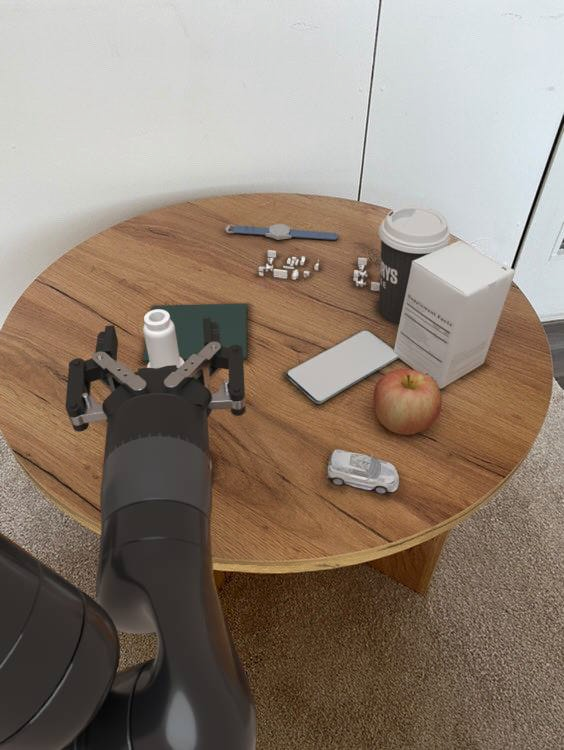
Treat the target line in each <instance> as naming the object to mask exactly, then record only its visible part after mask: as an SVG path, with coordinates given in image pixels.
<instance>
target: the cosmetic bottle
mask: <svg viewBox="0 0 564 750" xmlns="http://www.w3.org/2000/svg"><path fill="white" fill-rule="evenodd" d="M143 321H144V324H143V327H142V332H143V337H144V341H145V345H146V346H147V351H148V356H149V361H150V362H147V363H148V364H147V366H146V368H161V367H165V366H171V365H176V366H177V368H179V367H180V366H181V365H182V364H183V363H184V362H185V361H184V360H183V359H182V358H181V357H180V356H179V351H178V345H177V338H176V332H175V326H174V323H173V322H172V321H171V320H170V315H169V313H168V312H167V311H165V310H161V309H157V310H152V309H151V310H149V311H148V312H146V313H145V315H144V317H143ZM210 466H211V467H212V460H211V459H210Z"/></svg>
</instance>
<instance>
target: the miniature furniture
mask: <svg viewBox="0 0 564 750" xmlns="http://www.w3.org/2000/svg"><path fill="white" fill-rule="evenodd" d="M267 257H268V258H267V262H269V263H266V266H265V265H263V266H259V267H258V276H261V277H264V274H265V273H268V272H269V270H270V272H273V278H278V279H279V278H280V279H288V270H292V273H291V277H292V280H297V279H299V276H300V275H299V274H300V272H299V270H298V269H295V267H294V266H298V265H299V266H304V265H305V261H306V256H303V255H302V256H301V260H300V259H298V258H297V256H292V257H288V258H287V261H286V264H287V265H289V266H287V265H283V267H282V268H283V269H277V268H274V265H273V261H274V259H276V258H277V251H276V250H270V249H267ZM319 261H320V259H317V263H315V264H314V266H313V267H314V271H319V264H320V263H319ZM269 264H270V265H269ZM367 264H368V258H365V257H358V260H357V266H358V269H354V272H353V278H352V279H353V282H355V286H356V287H359V286H360V288H363V287H364V286H366V285H367V281H364V278H368V277H369V276H368V275H369V274H368V273H367V270H364V268H365V266H367ZM286 269H288V270H286ZM264 270H265V273H264ZM309 276H310V271H309V270H308V271H307V270H304V271H303V278H304V279H306V278H307V277H309ZM360 277H361V279H360V280H359V278H360ZM379 287H380V282H376V281H371V284H370V291H376V292H379Z"/></svg>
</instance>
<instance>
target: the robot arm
mask: <svg viewBox="0 0 564 750" xmlns="http://www.w3.org/2000/svg"><path fill="white" fill-rule="evenodd" d="M203 332H204V345H205V347H204V348H203V349H202V350H201V351H200V352H199V353H198V354H197V355H196V354H192V355H191V356H190V357H189V358H188V359H187V360H186V361H184V363H183V364H182V365H181V366H180V367H179V368H177V366H176V365H171V366H165V367H161V368H147V367H140V368H137V371H135V372H133V371H132V370H131V369H129V367H127V366H126V365H125V364H124V363H122V362H121V361H120V360H117V358H118V348H119V340H118V335H117V331H116V327H115V325H114V324H112V325H111V324H110V325H105V326H104V331H99V332H98V334H97V337H96V344H95V350H94V351H95V352H94V353H93V354H92V356H91V358H88V359H86V360H84V359H83V358H74V359H72V360H70V361H69V363H68V373H67V385H66V395H65V396H66V397H65V410H66V413H67V416H68V419H69V421H70V423H71V426H72V428H73V430H74V431H75V432H79V433H80V432H85V431H86V430H87V429H88V428H89V427H90V423H97V422H103V421H105V422H106V432H105V442H104V452H103V453H104V454H103V464H102V475H101V483H100V494H99V505H100V506H99V509H100V522H101V525H100V527H101V528H100V540H99V551H98V561H97V571H96V572H97V573H96V584H95V585H96V586H95V589H96V590H95V591H96V593H95V594H96V595H95V596H96V599H95V600H94V599H93V598H92V597H91V596H89V595H88V594H87V593H86V592H85V591H84V590H82V589H81V588H79V587H78V586H76V585H74V584H73V583H72V582H71V581H69V580H68V579H66V578H65V577H63V576H62V575H61V574H59V573H58V572H57V571H56V570H54V569H52V568H51V567H49V566H48V565H47V564H45V563H44V562H43V561H41V560H40V559H38V558H37V557H36V556H34V555H33V554H32V553H30V552H29V551H28V550H26V549H25V548H23V547H22V546H21V545H19V544H18V543H17V542H15V541H14V540H12V539H11V538H9V537H8V536H6V535H5V534H3V532H2V531H0V750H256V744H257V737H258V736H257V735H258V717H257V708H256V702H255V699H254V695H253V692H252V688H251V685H250V682H249V679H248V677H247V675H246V672H245V669H244V667H243V663H242V661H241V659H240V657H239V654H238V650H237V649H236V648H237V647H236V645H235V643H234V640H233V637H232V635H231V632H230V631H231V630H230V629H229V625H228V622H227V619H226V615H225V613H224V609H223V606H222V603H221V602H222V601H221V599H220V595H219V593H218V590H217V586H216V582H215V581H216V580H215V577H214V563H213V562H214V561H213V548H212V547H213V546H212V533H211V532H212V531H211V530H212V529H211V525H212V523H211V518H212V507H213V486H214V478H213V474H212V466H210V460H211V453H210V439H209V437H210V436H209V422H208V421H209V420H208V419H209V416H210V415H211V413H212V411H213V410H230V413H231V414H232V416H236V417H240V416H243V415H244V414H245V413H246V412H247V411H246V388H245V387H246V385H245V370H244V369H245V367H244V360H243V349H242V347H241V346H240V345H232V346H230V347H229V348H226V347H223V346H222V345H221V343H220V333H219V325H218V324H217V323H216V322H213V323H211V321H210V317H208V318H203ZM222 370H227V371H228V379H224V380H223V381H222V384H220V386H219V389H218V390H217V391H216V392H214V393H212V392H211V390H210V389H209V388H210V386H211V382H212V380H213V379H214V378H216V376H217V375H218V374H219V373H220V372H221V371H222ZM96 381H99V382H101V383H102V384H103V385H104V386H105V387H106V388H107V389H108V390H109V391H110V393H109V394H108V395H107V396H106V398H105V399H104V400H103V401H102V403H98V402H97V401H96V398H95V397H94V396H92V395H91V387H92V386H91V385H92V382H96ZM118 631H120V632H123V633H127V634H133V635H156V642H157V643H156V644H157V645H156V654H155V657H153V658H150V659H148V660H145V661H143V662H140V663H137V664H134V665H132V666H129V667H127V668H126V667H125V668H123V669H121V670H119V671H118V669H119V664H120V658H121V643H120V637H119V632H118Z"/></svg>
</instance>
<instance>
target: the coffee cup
mask: <svg viewBox="0 0 564 750" xmlns="http://www.w3.org/2000/svg"><path fill="white" fill-rule="evenodd" d="M377 233H378V236H379V238H380V241H381V243H380V264H379V265H380V267H379V269H380V270H379V283H380V287H379V291H378V312H379V314H380V315H381V317H382V318H384V319H385V320H386V321H388V322H391V323H394V324H398V325H399V323H400V318H401V313H402V309H403V304H404V299H405V294H406V289H407V285H408V280H409V275H410V270H411V265H412V261H414V260H416V259H418V258H421V257H423V256H425V255H428V254H430V253H432V252H435V251H437V250H439V249H441V248H444V247H446V246H448V245H450V242H451V231H450V227H449V225H448V221H447V218H446V217H445V216H444V215H443V214H442V213H441V212H440V211H437V210H435V209H432V208H430V207H426V206H420V205H403V206H398V207H395V208H393V209H392V210H390V211H388V213H387V215H386V217H385V218H384V219H383V220H382V222H381V223H380V225H379V228H378V230H377Z"/></svg>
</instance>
